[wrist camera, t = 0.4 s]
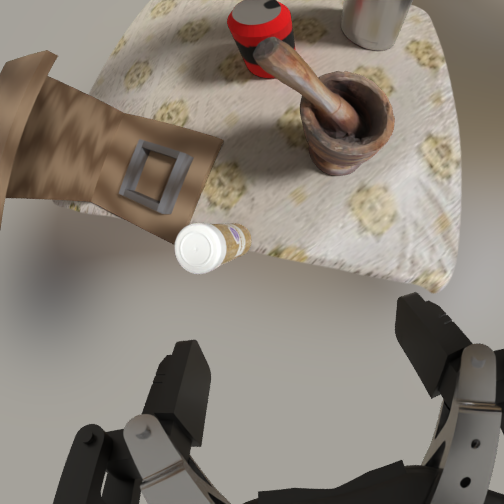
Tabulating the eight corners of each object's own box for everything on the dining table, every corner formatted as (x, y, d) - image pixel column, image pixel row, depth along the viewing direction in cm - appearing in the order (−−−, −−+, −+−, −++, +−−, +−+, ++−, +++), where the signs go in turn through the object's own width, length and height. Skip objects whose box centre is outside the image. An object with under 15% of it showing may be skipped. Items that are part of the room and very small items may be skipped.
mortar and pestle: (280, 179, 34) (248, 126, 15) (279, 118, 33) (249, 25, 14) (367, 181, 32) (432, 135, 13) (363, 120, 31) (407, 33, 12)
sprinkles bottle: (258, 239, 36) (231, 248, 23) (235, 264, 37) (197, 285, 24) (234, 215, 36) (194, 212, 23) (212, 240, 37) (163, 249, 24)
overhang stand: (120, 113, 38) (6, 62, 13) (223, 141, 35) (104, 40, 10) (88, 198, 41) (-37, 193, 16) (181, 245, 38) (25, 277, 13)
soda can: (305, 67, 32) (302, 15, 20) (260, 87, 33) (240, 39, 22) (280, 36, 32) (269, -14, 20) (238, 55, 33) (214, 8, 22)
